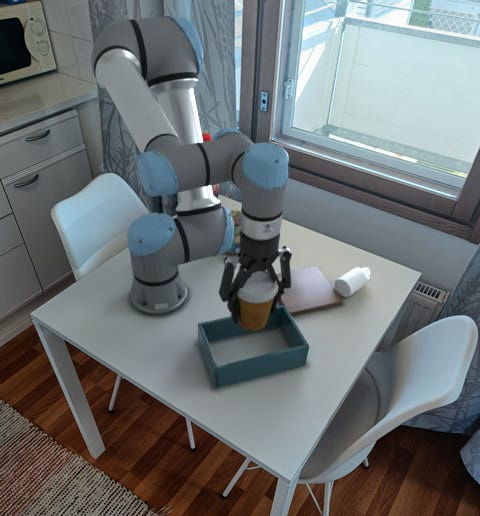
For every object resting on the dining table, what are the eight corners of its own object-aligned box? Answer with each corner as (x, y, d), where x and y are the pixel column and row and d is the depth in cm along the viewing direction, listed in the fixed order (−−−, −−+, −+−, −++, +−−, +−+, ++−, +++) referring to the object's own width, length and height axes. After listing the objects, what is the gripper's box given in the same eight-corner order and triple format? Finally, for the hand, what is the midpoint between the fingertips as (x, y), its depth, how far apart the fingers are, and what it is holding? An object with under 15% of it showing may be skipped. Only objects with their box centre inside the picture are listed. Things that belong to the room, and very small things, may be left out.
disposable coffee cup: (279, 314, 102) (285, 274, 94) (264, 342, 96) (269, 302, 87) (242, 301, 105) (244, 261, 96) (224, 327, 99) (225, 287, 90)
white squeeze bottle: (374, 282, 129) (379, 267, 125) (348, 300, 123) (353, 285, 119) (358, 272, 132) (362, 257, 128) (332, 289, 126) (335, 274, 122)
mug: (213, 244, 139) (213, 215, 132) (238, 236, 143) (240, 207, 135) (233, 265, 132) (233, 235, 125) (259, 256, 136) (261, 226, 128)
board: (266, 279, 128) (267, 275, 127) (316, 269, 132) (317, 265, 131) (288, 317, 118) (289, 313, 117) (342, 304, 122) (343, 300, 121)
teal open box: (198, 342, 110) (197, 323, 105) (281, 323, 116) (284, 304, 111) (215, 388, 101) (215, 369, 96) (305, 365, 106) (309, 346, 101)
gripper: (212, 251, 78) (213, 337, 94) (319, 232, 83) (302, 317, 99) (200, 228, 83) (203, 313, 99) (303, 211, 88) (289, 295, 104)
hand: (253, 315), depth 99 cm, fingers closed on disposable coffee cup, 8 cm apart
